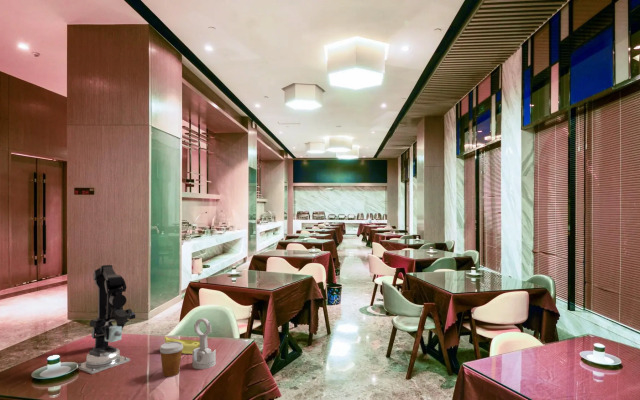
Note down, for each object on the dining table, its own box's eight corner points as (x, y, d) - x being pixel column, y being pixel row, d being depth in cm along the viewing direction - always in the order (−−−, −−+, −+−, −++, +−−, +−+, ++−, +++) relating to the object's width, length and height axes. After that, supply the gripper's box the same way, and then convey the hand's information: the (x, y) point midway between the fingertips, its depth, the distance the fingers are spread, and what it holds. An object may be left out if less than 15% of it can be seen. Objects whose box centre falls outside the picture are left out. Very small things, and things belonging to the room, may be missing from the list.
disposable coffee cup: (168, 380, 149) (168, 350, 150) (154, 375, 154) (154, 346, 155) (187, 372, 157) (188, 343, 158) (173, 367, 162) (174, 340, 163)
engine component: (204, 370, 159) (220, 362, 168) (205, 322, 160) (220, 317, 169) (186, 366, 164) (202, 358, 173) (186, 320, 165) (202, 314, 174)
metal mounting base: (75, 367, 163) (75, 352, 163) (113, 355, 178) (113, 341, 178) (91, 374, 156) (92, 358, 156) (130, 360, 170) (130, 346, 171)
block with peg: (104, 340, 169) (105, 327, 169) (115, 337, 173) (115, 324, 174) (113, 343, 165) (113, 329, 166) (124, 340, 170) (124, 327, 170)
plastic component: (207, 341, 191) (202, 338, 182) (204, 356, 187) (199, 354, 178) (169, 338, 191) (163, 335, 182) (166, 354, 187) (159, 351, 178)
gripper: (103, 310, 159) (102, 346, 158) (143, 301, 175) (142, 334, 174) (89, 307, 164) (88, 342, 163) (128, 299, 180) (128, 331, 180)
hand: (113, 337), depth 170 cm, fingers closed on block with peg, 5 cm apart
